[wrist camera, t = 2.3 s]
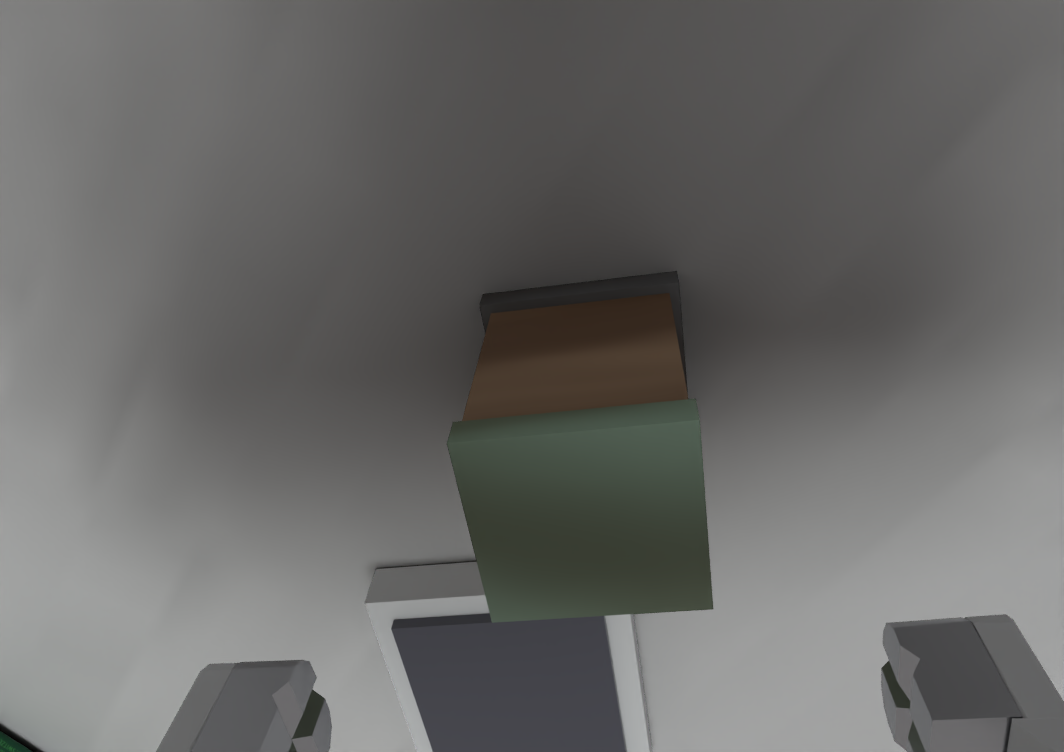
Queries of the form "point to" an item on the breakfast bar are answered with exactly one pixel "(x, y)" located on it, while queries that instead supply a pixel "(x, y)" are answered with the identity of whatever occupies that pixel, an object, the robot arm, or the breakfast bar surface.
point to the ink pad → (504, 669)
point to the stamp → (584, 454)
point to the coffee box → (11, 744)
